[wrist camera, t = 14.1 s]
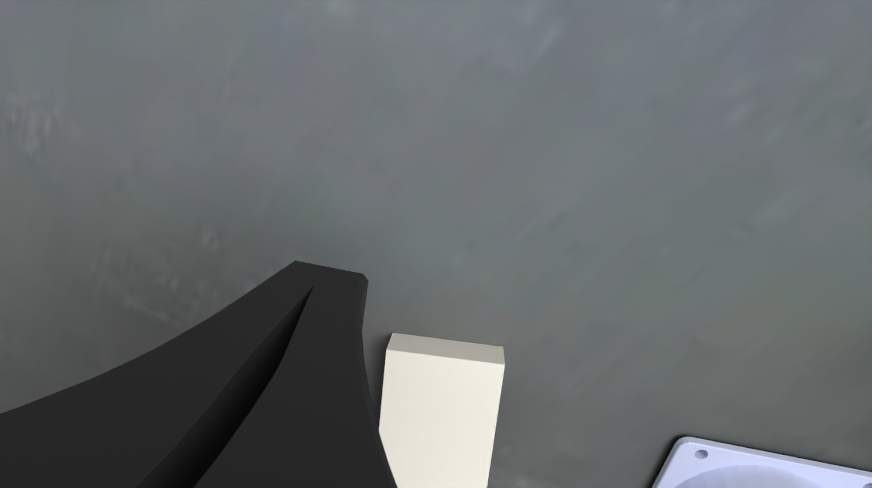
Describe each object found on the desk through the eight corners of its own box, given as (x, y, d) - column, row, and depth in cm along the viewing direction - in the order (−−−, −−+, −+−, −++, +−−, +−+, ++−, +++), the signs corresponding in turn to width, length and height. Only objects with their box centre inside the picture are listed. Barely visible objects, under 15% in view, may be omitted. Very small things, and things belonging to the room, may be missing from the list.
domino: (504, 364, 21) (475, 567, 23) (503, 346, 23) (475, 537, 25) (386, 349, 21) (368, 551, 24) (392, 332, 23) (374, 523, 25)
